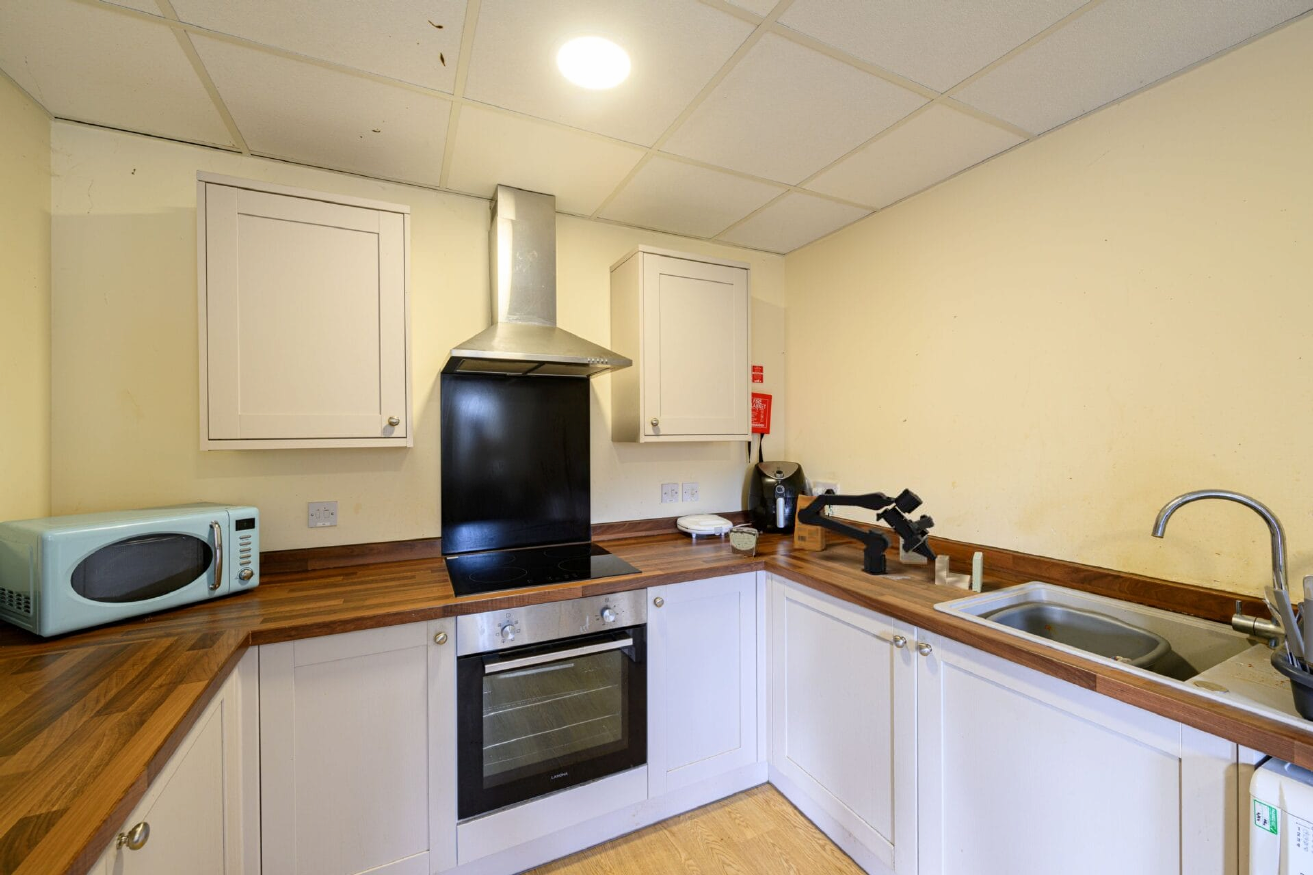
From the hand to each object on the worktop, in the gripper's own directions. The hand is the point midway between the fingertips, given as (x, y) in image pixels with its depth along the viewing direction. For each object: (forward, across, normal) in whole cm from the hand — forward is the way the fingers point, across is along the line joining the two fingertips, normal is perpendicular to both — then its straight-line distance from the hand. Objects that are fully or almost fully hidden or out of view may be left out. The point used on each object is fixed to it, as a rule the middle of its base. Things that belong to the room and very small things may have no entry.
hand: (936, 560), depth 170 cm
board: (+13, 0, -3) cm, 13 cm away
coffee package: (-30, +23, +39) cm, 55 cm away
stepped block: (+8, 0, +2) cm, 8 cm away
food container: (-42, -2, +51) cm, 67 cm away
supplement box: (-2, +22, +12) cm, 25 cm away
